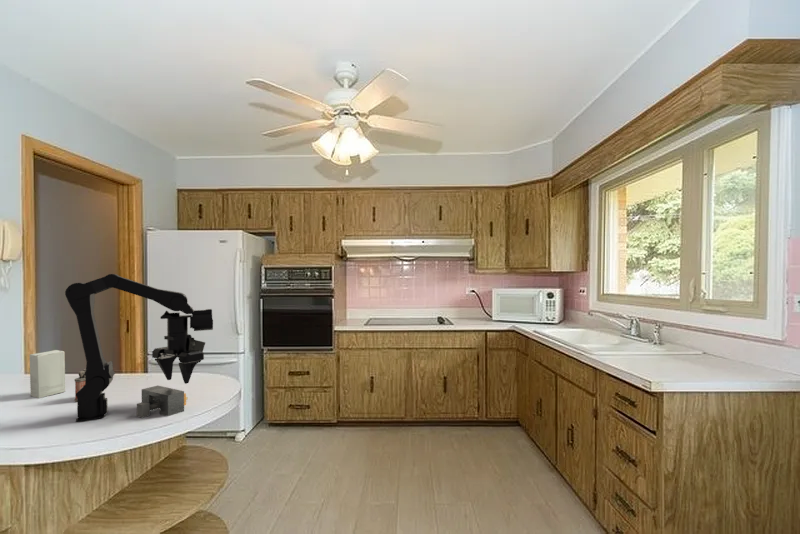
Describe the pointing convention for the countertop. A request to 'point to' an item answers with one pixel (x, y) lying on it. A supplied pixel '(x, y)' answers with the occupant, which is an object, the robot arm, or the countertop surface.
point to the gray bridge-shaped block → (164, 399)
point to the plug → (150, 407)
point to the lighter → (79, 382)
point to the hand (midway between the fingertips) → (177, 381)
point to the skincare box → (47, 373)
